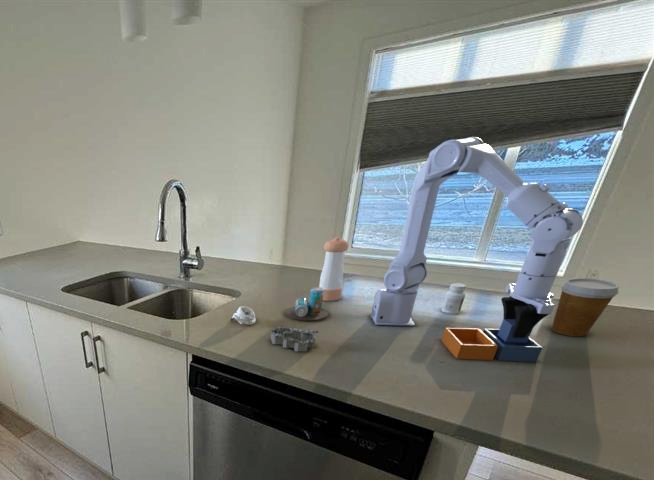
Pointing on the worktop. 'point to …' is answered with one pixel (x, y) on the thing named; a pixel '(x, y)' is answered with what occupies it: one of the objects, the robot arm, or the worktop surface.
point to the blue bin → (514, 348)
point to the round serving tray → (309, 307)
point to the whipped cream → (244, 315)
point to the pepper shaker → (333, 269)
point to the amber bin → (469, 343)
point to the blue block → (510, 332)
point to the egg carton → (294, 338)
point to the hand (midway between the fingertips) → (513, 333)
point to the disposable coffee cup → (582, 305)
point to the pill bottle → (454, 299)
